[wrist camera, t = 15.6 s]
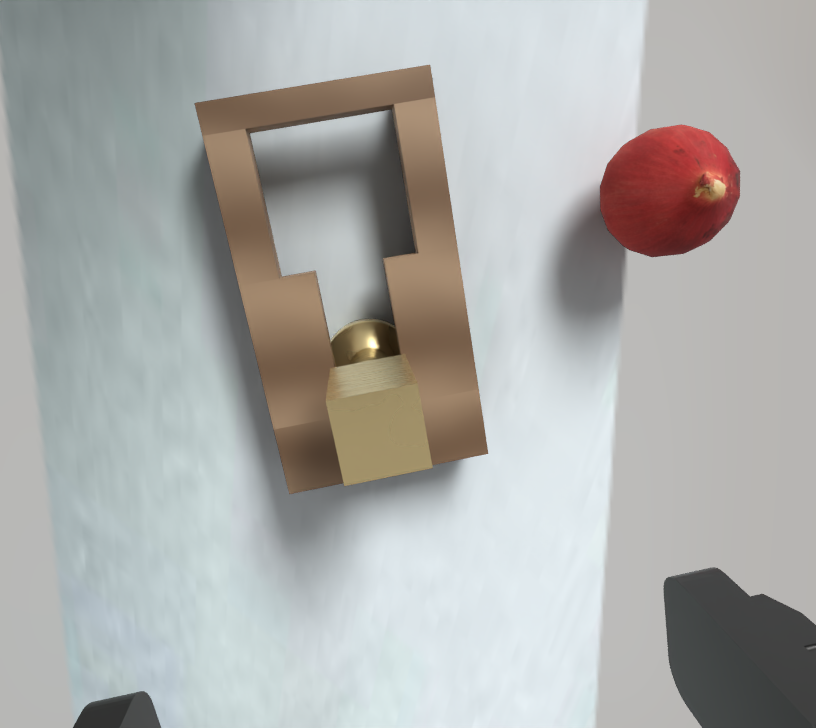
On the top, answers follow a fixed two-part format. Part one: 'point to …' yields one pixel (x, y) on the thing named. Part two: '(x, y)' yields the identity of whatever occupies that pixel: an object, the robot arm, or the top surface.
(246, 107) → the keyhole plate
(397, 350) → the keyhole peg
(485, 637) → the top surface
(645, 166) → the onion
